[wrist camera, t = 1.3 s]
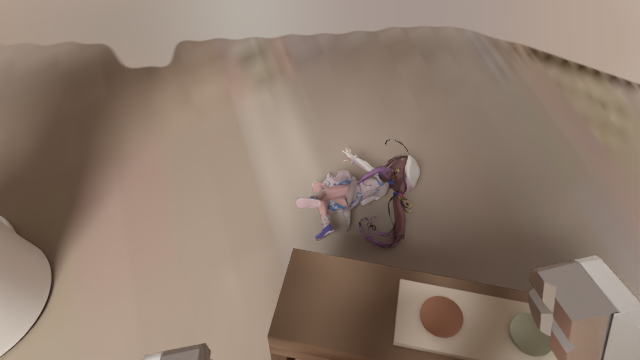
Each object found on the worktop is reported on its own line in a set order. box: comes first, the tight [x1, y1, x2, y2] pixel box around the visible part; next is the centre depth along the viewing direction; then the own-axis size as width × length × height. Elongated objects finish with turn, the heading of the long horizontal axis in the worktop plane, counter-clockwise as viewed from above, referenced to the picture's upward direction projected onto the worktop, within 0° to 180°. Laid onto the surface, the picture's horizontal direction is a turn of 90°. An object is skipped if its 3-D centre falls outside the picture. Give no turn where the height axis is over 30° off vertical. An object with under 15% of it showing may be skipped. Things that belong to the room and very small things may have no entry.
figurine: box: [296, 140, 420, 248], centre depth 46 cm, size 12×9×15 cm
